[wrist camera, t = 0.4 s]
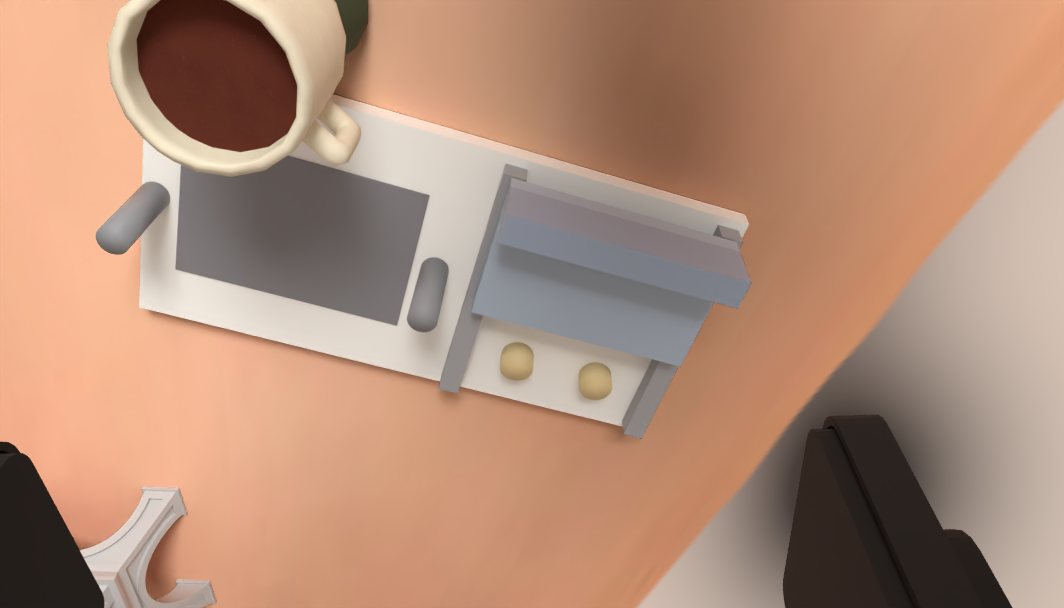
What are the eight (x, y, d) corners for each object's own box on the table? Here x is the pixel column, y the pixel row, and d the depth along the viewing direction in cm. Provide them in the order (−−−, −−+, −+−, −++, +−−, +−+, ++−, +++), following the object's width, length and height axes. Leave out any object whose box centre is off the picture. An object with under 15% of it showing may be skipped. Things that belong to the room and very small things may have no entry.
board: (153, 41, 40) (93, 83, 35) (745, 214, 44) (769, 273, 39) (146, 295, 49) (97, 358, 44) (641, 419, 53) (649, 489, 48)
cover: (511, 177, 41) (506, 214, 37) (736, 242, 42) (751, 283, 39) (472, 302, 45) (465, 345, 42) (678, 356, 47) (687, 401, 43)
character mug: (169, -36, 38) (14, 44, 27) (254, -157, 35) (118, -121, 24) (351, 122, 42) (279, 245, 31) (440, 25, 39) (395, 125, 28)
